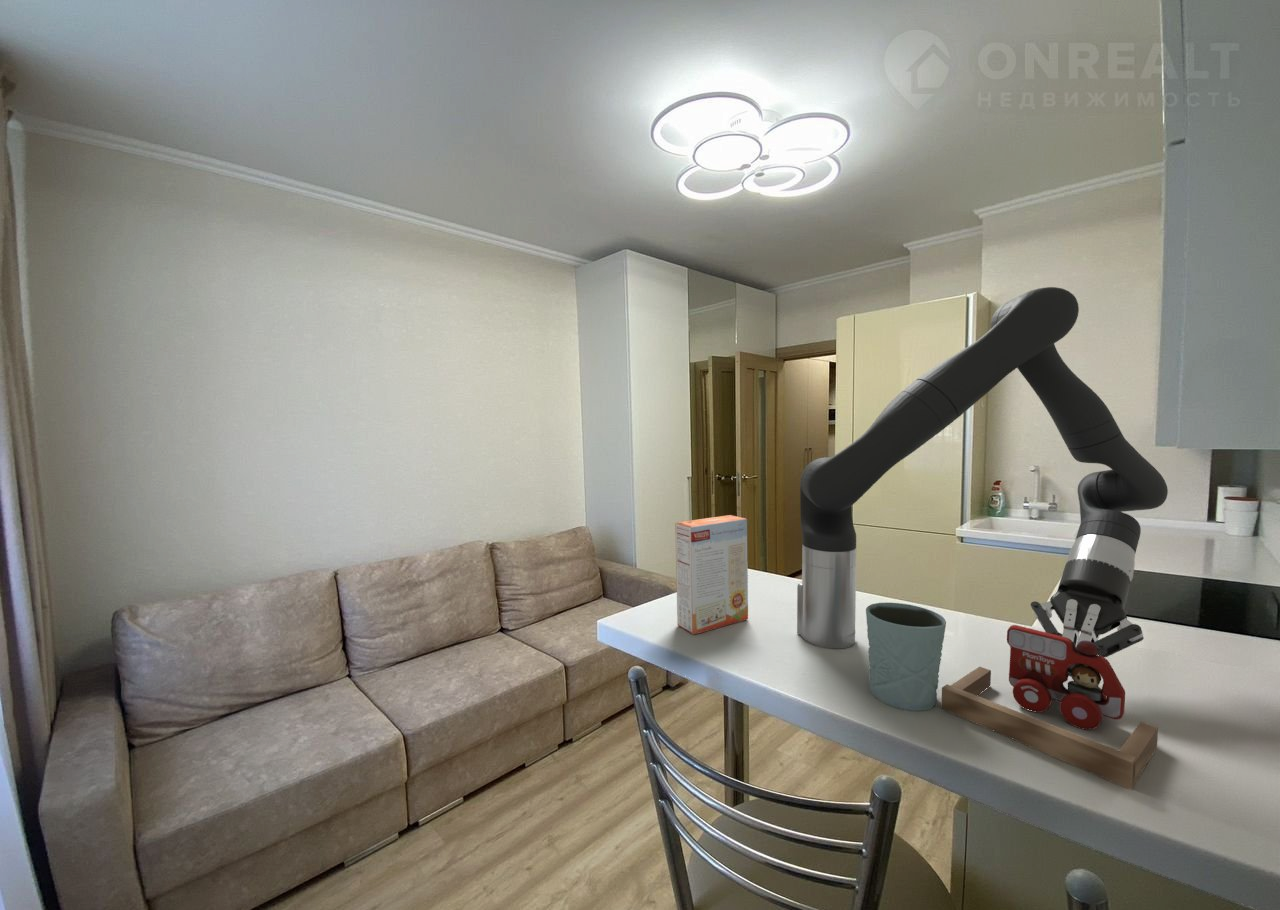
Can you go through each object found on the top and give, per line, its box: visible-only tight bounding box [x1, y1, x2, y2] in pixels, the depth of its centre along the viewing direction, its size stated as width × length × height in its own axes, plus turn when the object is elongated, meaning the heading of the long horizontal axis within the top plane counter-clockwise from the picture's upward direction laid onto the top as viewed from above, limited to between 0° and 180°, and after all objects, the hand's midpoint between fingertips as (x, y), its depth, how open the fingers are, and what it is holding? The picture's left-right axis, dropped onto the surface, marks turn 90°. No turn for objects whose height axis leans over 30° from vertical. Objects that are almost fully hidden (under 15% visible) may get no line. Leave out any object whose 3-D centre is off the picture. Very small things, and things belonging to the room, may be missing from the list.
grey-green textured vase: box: [865, 602, 947, 712], centre depth 72 cm, size 10×10×12 cm
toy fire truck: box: [1006, 624, 1126, 730], centre depth 68 cm, size 7×12×10 cm, turn 41°
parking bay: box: [941, 666, 1159, 790], centre depth 64 cm, size 19×12×3 cm, turn 35°
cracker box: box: [674, 514, 749, 635], centre depth 99 cm, size 14×6×21 cm, turn 120°
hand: (1068, 673), depth 70 cm, fingers closed
